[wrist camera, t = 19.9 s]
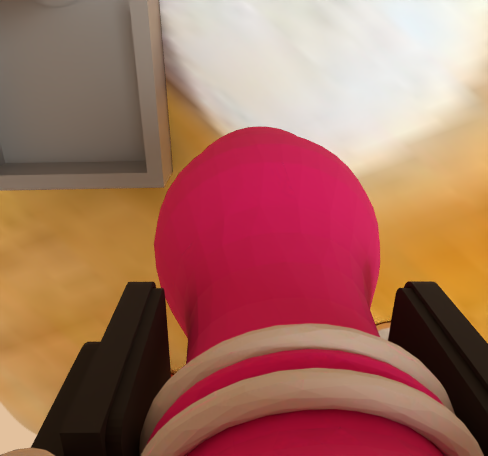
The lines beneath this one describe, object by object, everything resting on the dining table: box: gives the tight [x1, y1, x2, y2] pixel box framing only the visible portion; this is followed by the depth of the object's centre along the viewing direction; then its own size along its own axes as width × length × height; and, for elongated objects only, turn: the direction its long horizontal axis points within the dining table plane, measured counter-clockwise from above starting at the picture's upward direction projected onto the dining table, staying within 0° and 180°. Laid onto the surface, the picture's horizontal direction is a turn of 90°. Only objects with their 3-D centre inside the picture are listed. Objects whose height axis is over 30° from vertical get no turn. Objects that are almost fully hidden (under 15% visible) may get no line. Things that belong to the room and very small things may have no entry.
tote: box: [0, 0, 173, 190], centre depth 31 cm, size 22×15×5 cm
